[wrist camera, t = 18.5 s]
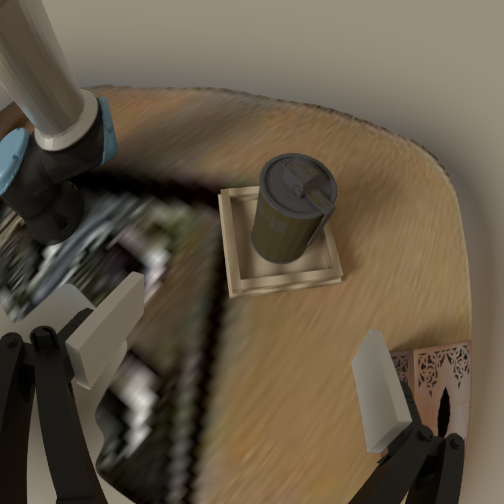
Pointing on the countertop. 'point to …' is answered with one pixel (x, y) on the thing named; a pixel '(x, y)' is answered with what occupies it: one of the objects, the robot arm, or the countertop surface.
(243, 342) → the countertop surface
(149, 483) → the countertop surface
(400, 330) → the countertop surface
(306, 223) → the canister
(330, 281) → the square tray
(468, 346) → the tissue box cover
